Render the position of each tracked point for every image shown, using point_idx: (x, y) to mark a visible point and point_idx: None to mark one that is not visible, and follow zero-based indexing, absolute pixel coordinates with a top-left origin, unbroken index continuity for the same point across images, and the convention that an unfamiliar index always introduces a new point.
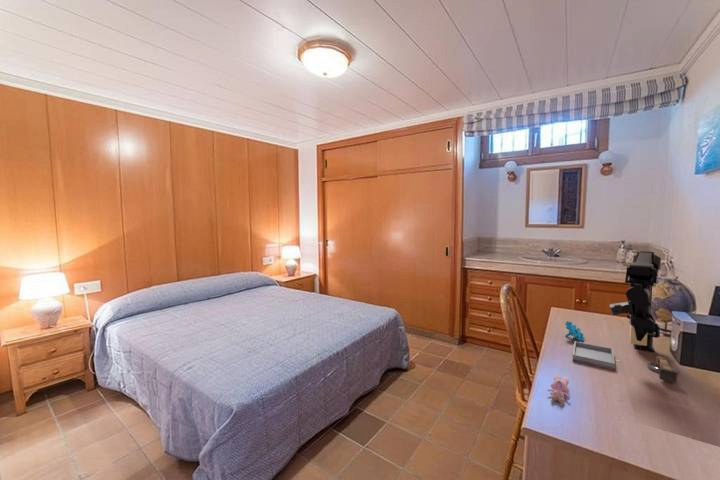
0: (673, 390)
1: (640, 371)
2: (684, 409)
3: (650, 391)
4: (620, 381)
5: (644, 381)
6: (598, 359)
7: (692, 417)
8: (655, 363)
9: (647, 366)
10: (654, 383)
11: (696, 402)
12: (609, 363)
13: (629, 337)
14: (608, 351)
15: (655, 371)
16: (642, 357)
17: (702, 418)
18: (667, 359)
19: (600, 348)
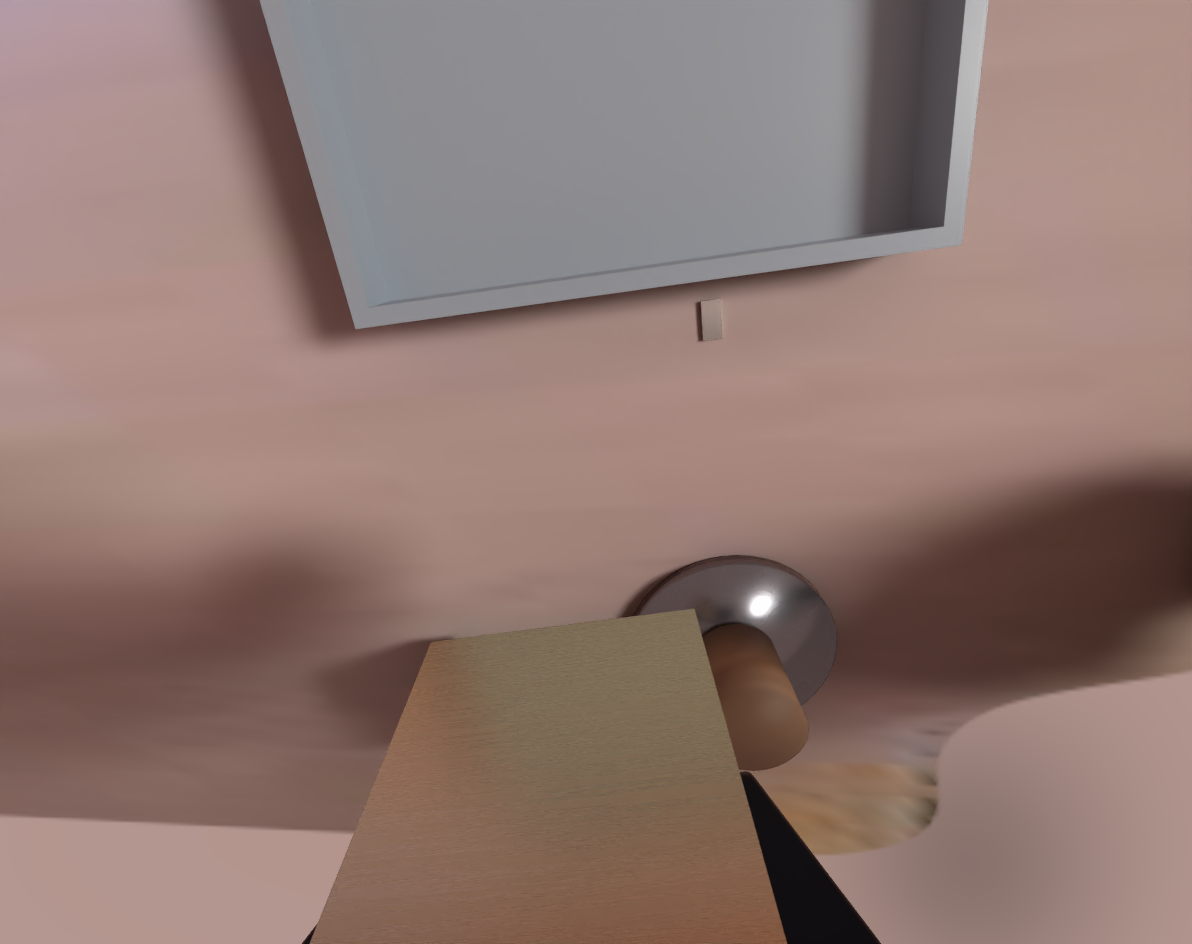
0: (344, 695)
1: (554, 515)
2: (84, 732)
3: (167, 586)
4: (136, 390)
5: (337, 548)
6: (511, 111)
7: (14, 757)
8: (820, 615)
9: (717, 560)
10: (363, 604)
11: (267, 778)
12: (346, 267)
13: (670, 650)
14: (913, 195)
15: (636, 610)
16: (975, 515)
17: (60, 788)
18: (748, 764)
19: (936, 74)
